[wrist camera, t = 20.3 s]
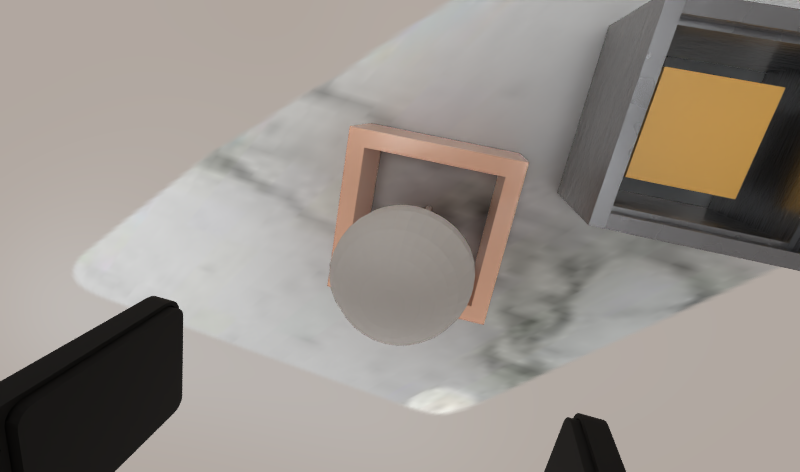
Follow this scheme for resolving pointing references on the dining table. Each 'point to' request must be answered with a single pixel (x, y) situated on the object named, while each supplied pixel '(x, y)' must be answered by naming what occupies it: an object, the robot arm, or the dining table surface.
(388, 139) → the tool holder
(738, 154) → the tan square block
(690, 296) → the dining table surface
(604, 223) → the box
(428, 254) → the lollipop
